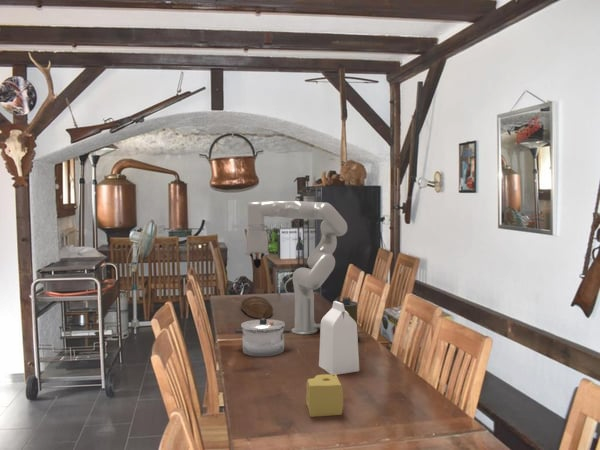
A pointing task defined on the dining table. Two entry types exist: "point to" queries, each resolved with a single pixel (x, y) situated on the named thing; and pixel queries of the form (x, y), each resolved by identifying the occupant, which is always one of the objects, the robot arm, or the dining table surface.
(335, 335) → the milk
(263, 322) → the lid
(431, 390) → the dining table surface
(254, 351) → the pot
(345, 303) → the canister
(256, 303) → the bread
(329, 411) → the cheese
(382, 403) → the dining table surface
